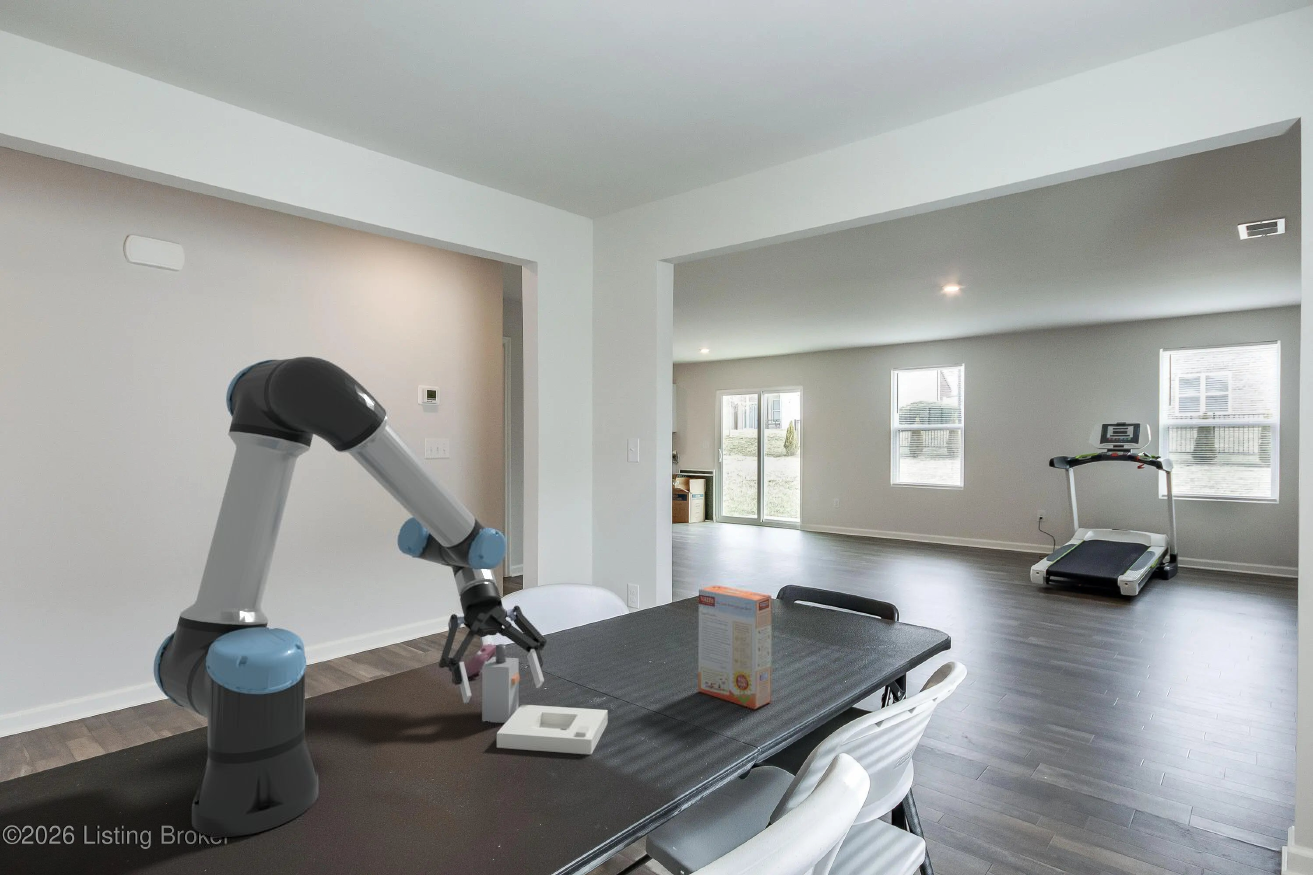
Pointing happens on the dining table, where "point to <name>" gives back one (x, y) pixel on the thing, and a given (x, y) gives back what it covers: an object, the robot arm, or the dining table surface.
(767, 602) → the cracker box
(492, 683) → the plug
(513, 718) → the socket plate
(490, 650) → the video game controller
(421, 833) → the dining table surface
